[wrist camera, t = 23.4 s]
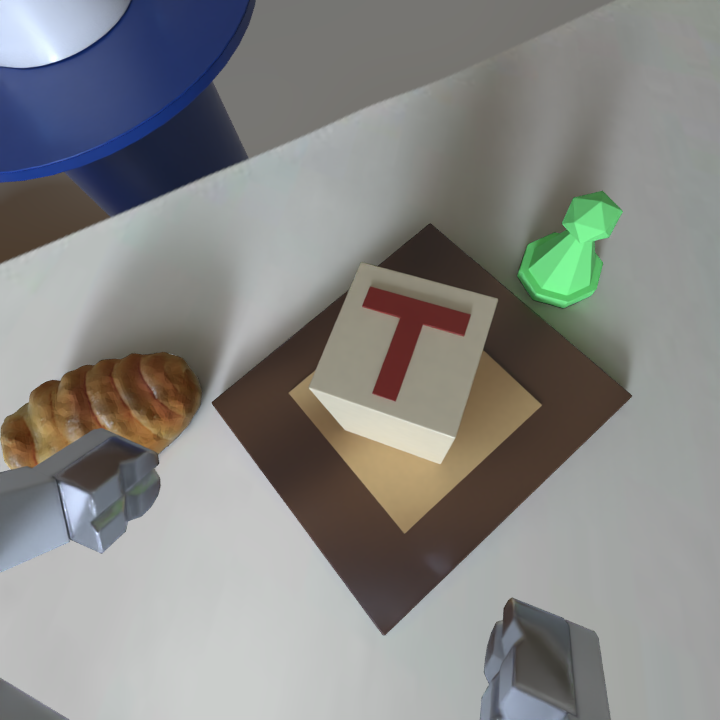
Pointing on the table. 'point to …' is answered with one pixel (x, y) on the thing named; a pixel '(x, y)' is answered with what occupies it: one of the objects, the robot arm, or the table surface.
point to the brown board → (409, 472)
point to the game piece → (570, 253)
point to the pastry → (104, 407)
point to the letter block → (403, 360)
